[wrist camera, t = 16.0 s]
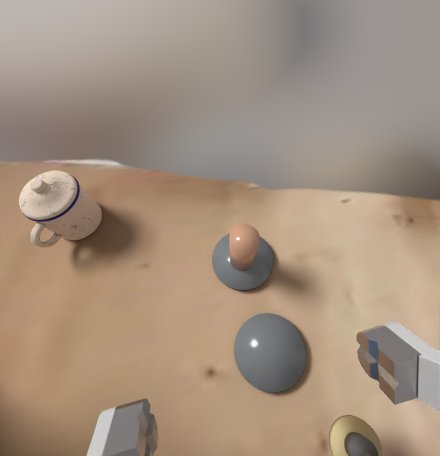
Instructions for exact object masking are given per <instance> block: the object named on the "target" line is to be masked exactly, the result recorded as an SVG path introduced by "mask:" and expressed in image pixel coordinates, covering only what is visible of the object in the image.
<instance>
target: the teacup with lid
mask: <svg viewBox="0 0 440 456" xmlns="http://www.w3.org/2000/svg"><path fill="white" fill-rule="evenodd" d="M19 206H20V209H21V211H22V212H23V214H24V215H25V216H26V217H27V218H29V219H31V220H33V221H37V224H36V225H35V226H34V228H33V230H32V232H31V241H32V242H33V243H34V244H35V245H37V246H40V247H50V246H52V245H54V244H56V243H57V242H58V240H59V239H60V238H61V237H62V238H64V239H67V240H79V239H83V238H85V237H87V236H89V235H90V234H92V233H93V232H94V231H95V230H96V229H97V227H98V226H99V224H100V222H101V219H102V211H101V208H100V206H99V205H98V204H97V203H96V202H95V200H94V199H93V198H92V197H91V196H90V195H89V194H88V193H87V192H86V191H85V190H84V189H83V188H82V187H81V186H80V185H79V183H78V181H77V180H76V178H75V177H73V176H72V175H70V174H68V173H66V172H62V171H49V172H45V173H42V174H40V175H38V176H36V177H35V178H33V179H32V180H31V181H29V182H28V183H27V185H26V186H25V187H24V188H23V190H22V192H21V194H20V198H19ZM44 227H46V228H48V229H49V230H51V231H53V232H54V235H53V236H52V237H51V239H49V240H48V241H46V242H41V241H40V233H41V231H42V230H43V228H44Z"/></svg>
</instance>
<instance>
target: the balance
mask: <svg viewBox="0 0 440 456" xmlns="http://www.w3.org/2000/svg"><path fill="white" fill-rule="evenodd" d="M329 444H330V448H331V452H332V454H333V456H382V450H381V445H380V441H379V439H378V437H377V435H376V433H375V431H374V430H373V429H372V428H371V426H370V425H369V424H367V423H366V422H365V421H363V420H362V419H360V418H358V417H356V416H352V415H345V416H342V417H339V418H338V419H337V420H336V421H335V422H334V423H333V425H332V427H331V429H330V434H329Z"/></svg>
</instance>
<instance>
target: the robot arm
mask: <svg viewBox="0 0 440 456" xmlns="http://www.w3.org/2000/svg"><path fill="white" fill-rule="evenodd" d="M357 342H358V343H359V344H360V347H359V349H358V351H357V352H358V359H359V361H360V364H361V366H362V367H363V369H364V370H365V372H366V373H367V374H368V375H369V376H370V377H371V378H373V379H375V380H377V381H379V387H380V389H381V390H382V391H383V392H384V393H385V394H386V395H387V397H388V398H389V399H390V400H391V401H392V402H393V403H394V404H395V405H396V404H399V403H402V402H405V401H409V400H412V399H415V398H418V400H420V401H422V402H424V403H426V404H427V405H429V406H431V407H433V408H435V409H436V410H438V411H440V349H439V350H435V349H434V348H432V347H431V346H430V345H428V344H427V343H426V342H424V341H423V340H421V339H420V338H419V337H417V336H416V335H414V334H413V333H412V332H410V331H409V330H408V329H406V328H405V327H403V326H402V325H401V324H399V323H398V322H395V321H393V322H390V323H387V324H384V325H381V326H377V327H374V328H371V329H368V330H365V331H362V332H359V333H358V334H357ZM149 412H150V404H149V402H148V400H147V399H142V400H138V401H135V402H131V403H128V404H124V405H120V406H117V407H114V408H111V409H107V410H104V411H102V413H101V414H100V416H99V418H98V421H97V424H96V428H95V431H94V434H93V437H92V440H91V443H90V447H89V450H88V453H87V456H153V454H154V452H155V450H156V449H157V443H158V433H157V424H156V420H155V417H154V415H153V414H151V413H149Z"/></svg>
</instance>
